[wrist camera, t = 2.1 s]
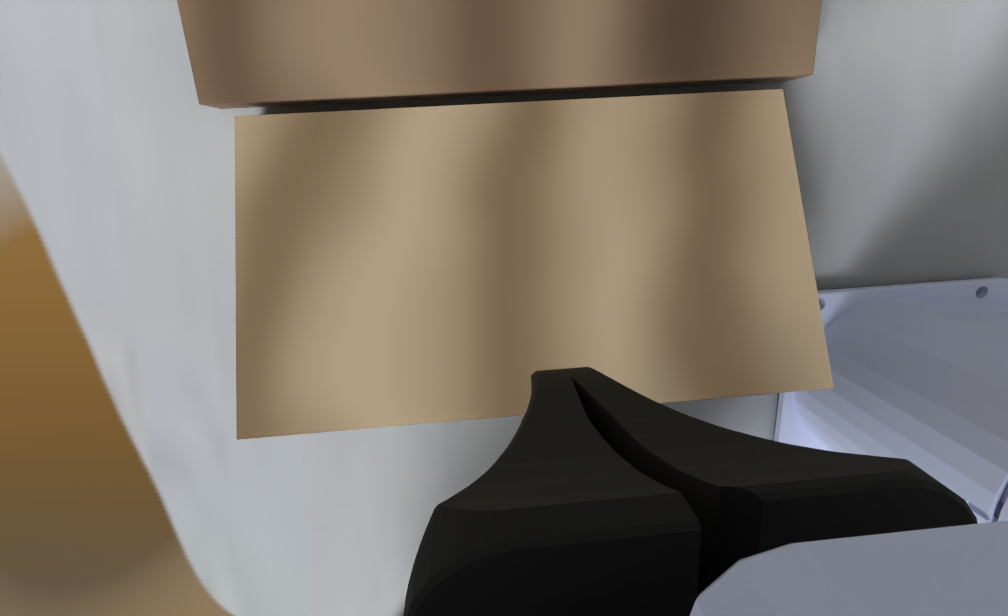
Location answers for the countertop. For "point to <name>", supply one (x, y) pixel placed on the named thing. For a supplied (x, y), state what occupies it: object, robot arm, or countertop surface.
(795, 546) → the robot arm
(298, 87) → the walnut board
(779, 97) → the oak plank
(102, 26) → the countertop surface
